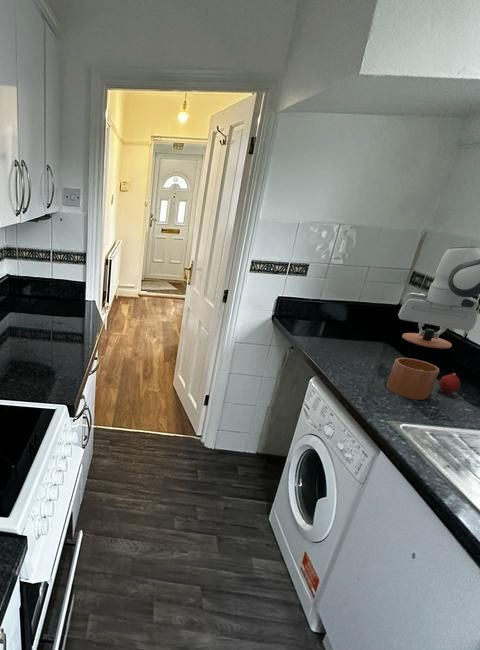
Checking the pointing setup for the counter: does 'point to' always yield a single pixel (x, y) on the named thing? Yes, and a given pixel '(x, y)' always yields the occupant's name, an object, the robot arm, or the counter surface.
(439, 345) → the lid
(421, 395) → the pot
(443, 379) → the onion
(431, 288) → the robot arm
